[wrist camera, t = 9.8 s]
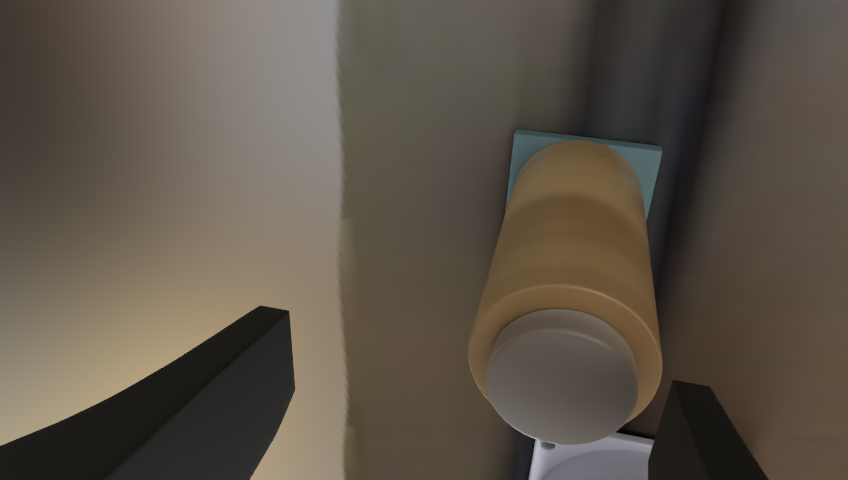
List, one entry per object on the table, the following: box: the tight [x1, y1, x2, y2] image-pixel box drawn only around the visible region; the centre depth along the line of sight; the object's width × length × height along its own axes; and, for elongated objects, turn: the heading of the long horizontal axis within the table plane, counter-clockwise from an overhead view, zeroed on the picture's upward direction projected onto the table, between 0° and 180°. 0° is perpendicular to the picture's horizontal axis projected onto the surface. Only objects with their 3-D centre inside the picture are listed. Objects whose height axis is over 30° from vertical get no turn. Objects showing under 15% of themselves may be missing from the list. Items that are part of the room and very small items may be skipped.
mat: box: [505, 129, 662, 221], centre depth 22 cm, size 9×4×1 cm, turn 178°
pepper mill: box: [468, 140, 663, 445], centre depth 17 cm, size 4×4×9 cm
